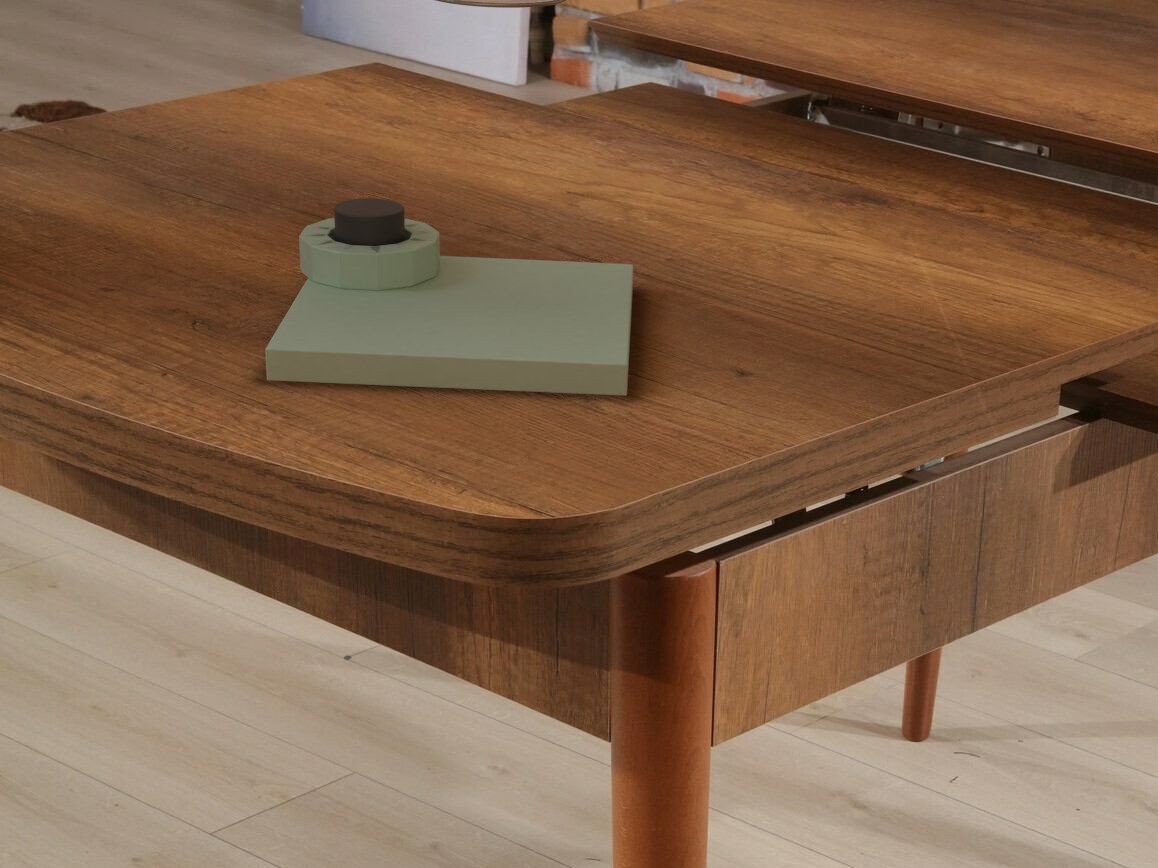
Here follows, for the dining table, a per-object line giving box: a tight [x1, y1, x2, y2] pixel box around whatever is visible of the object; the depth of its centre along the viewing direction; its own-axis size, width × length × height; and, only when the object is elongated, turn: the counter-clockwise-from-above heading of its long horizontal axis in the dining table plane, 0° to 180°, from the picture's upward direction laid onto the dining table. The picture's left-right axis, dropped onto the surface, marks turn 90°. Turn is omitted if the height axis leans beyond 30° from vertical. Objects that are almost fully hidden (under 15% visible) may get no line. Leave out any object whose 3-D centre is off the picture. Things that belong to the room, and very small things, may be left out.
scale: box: [264, 217, 635, 397], centre depth 75 cm, size 14×14×3 cm
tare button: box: [333, 197, 406, 246], centre depth 77 cm, size 3×3×2 cm
